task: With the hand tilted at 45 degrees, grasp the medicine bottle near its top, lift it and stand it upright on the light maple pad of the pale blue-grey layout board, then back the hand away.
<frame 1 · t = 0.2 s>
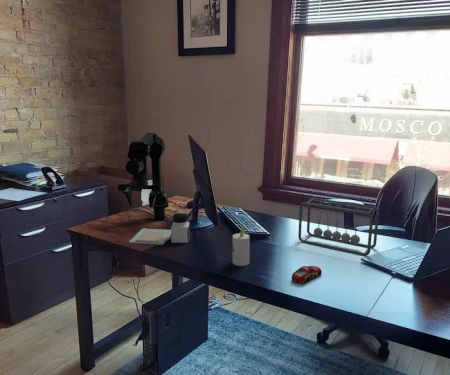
hand: (141, 206, 173), 14 cm above the table, tool pointing down, fingers open, 9 cm apart
candle: (240, 263, 151), on the table
layout board: (152, 236, 177), on the table
medicine bottle: (180, 240, 174), on the table
race car: (306, 278, 139), on the table
newton's cradle: (335, 245, 168), on the table
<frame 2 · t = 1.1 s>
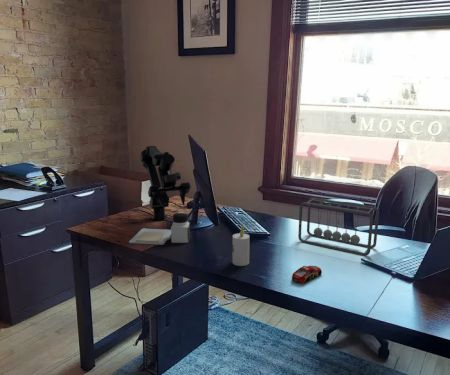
hand: (174, 205, 178), 13 cm above the table, tool tilted 45°, fingers open, 9 cm apart
nothing on the table moved.
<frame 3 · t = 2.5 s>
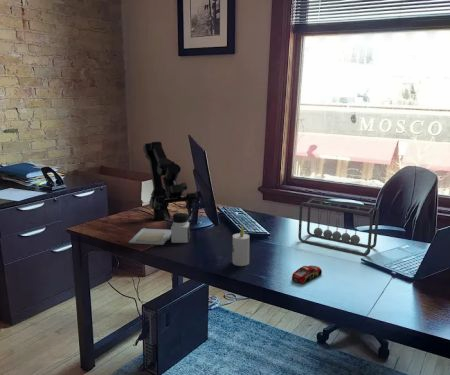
hand: (180, 217, 171), 10 cm above the table, tool tilted 45°, fingers open, 9 cm apart
nothing on the table moved.
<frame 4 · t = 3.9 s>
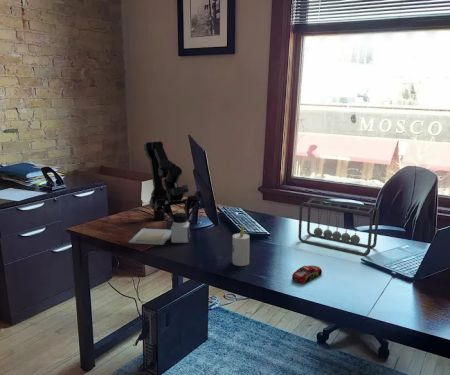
hand: (181, 219, 170), 10 cm above the table, tool tilted 45°, fingers closed on medicine bottle, 6 cm apart
medicine bottle: (180, 240, 174), on the table, touching gripper
everything else where it was.
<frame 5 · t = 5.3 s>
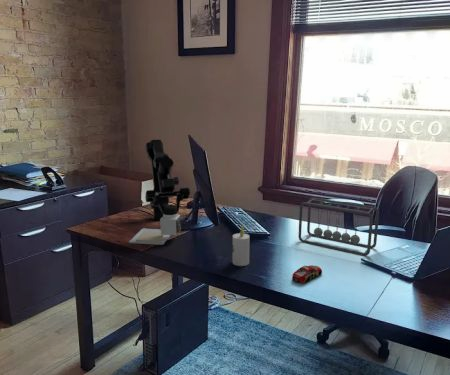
hand: (170, 211, 169), 13 cm above the table, tool tilted 45°, fingers closed on medicine bottle, 6 cm apart
medicine bottle: (171, 232, 173), point 3 cm above the table, touching gripper
everything else where it was.
when the fingers open (12 cm above the table, at t = 7.1 s): medicine bottle drops 1 cm, resting on layout board.
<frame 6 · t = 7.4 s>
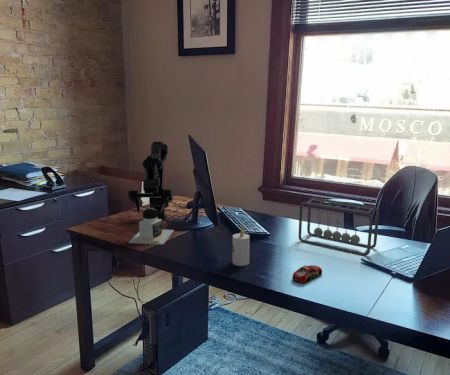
hand: (149, 212, 170), 13 cm above the table, tool tilted 45°, fingers open, 9 cm apart
medicine bottle: (151, 236, 174), point 1 cm above the table, touching layout board
everything else where it was.
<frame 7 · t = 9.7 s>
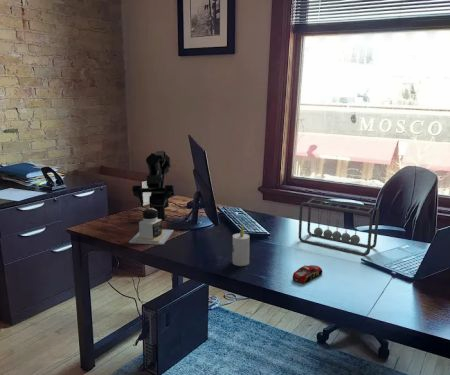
hand: (152, 206, 179), 13 cm above the table, tool tilted 45°, fingers open, 9 cm apart
nothing on the table moved.
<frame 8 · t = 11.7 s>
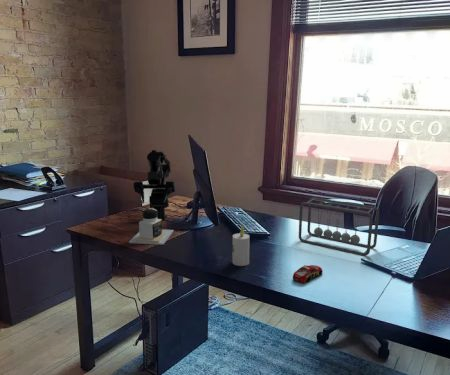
hand: (153, 202, 182), 14 cm above the table, tool tilted 45°, fingers open, 9 cm apart
nothing on the table moved.
at the end: medicine bottle 0.2 cm from the target spot, point 1.2 cm above the table; medicine bottle tilted 0°; the gripper is holding nothing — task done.
